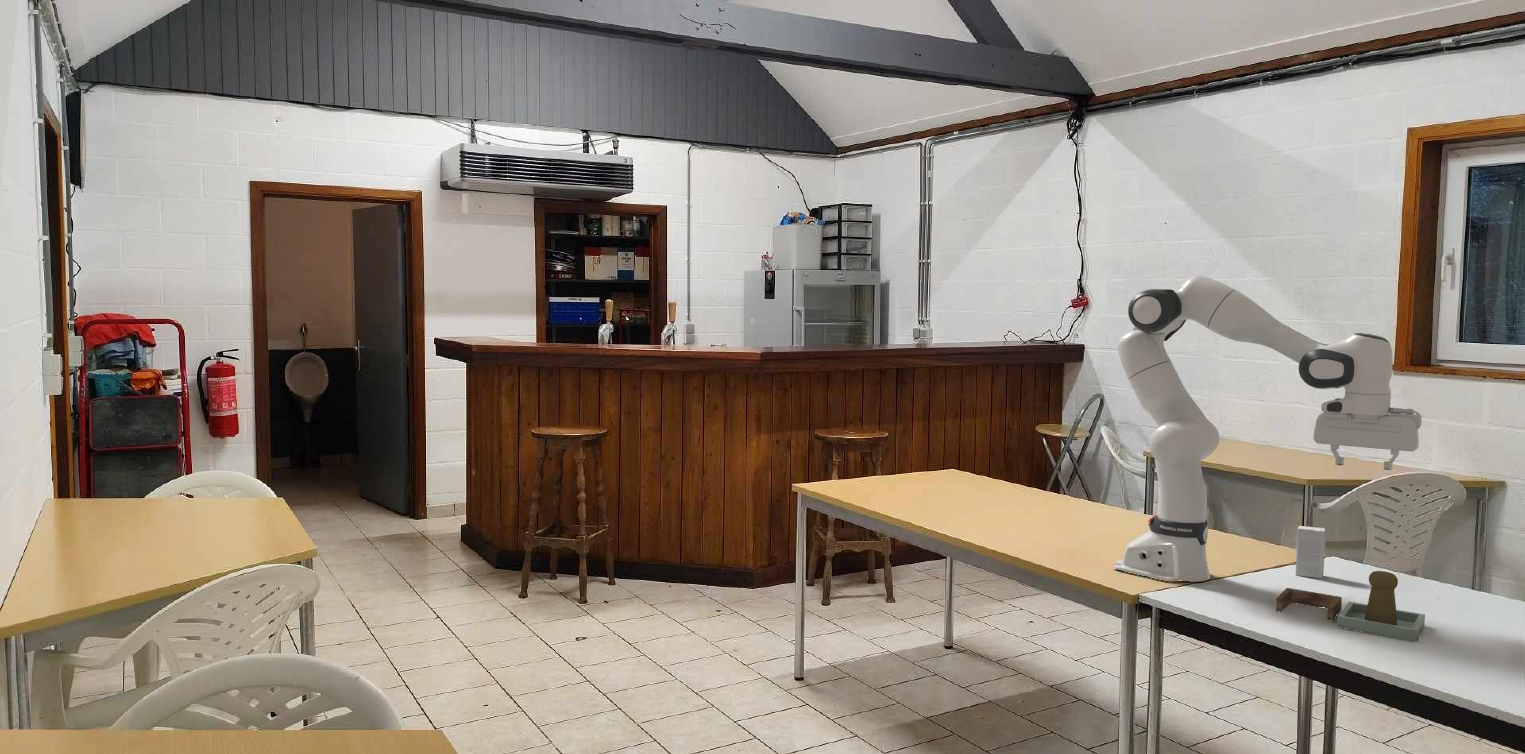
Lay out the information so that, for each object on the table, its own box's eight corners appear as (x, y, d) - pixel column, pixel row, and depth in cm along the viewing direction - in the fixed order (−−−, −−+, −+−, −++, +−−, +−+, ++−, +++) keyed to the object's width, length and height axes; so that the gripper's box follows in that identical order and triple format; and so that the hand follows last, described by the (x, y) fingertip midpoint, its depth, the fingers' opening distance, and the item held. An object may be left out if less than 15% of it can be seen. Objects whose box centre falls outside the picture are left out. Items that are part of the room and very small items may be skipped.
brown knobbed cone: (1370, 626, 209) (1373, 574, 208) (1359, 618, 215) (1362, 567, 214) (1402, 629, 208) (1405, 577, 207) (1391, 620, 214) (1394, 569, 213)
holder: (1275, 611, 221) (1276, 597, 221) (1286, 600, 230) (1287, 587, 229) (1332, 621, 215) (1333, 607, 214) (1341, 610, 223) (1341, 597, 222)
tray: (1337, 627, 210) (1337, 616, 210) (1348, 612, 221) (1349, 601, 221) (1416, 642, 202) (1417, 630, 202) (1424, 625, 213) (1425, 614, 212)
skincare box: (1323, 575, 252) (1326, 528, 251) (1322, 579, 249) (1325, 531, 248) (1296, 571, 255) (1298, 525, 255) (1294, 575, 252) (1297, 528, 251)
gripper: (1423, 408, 221) (1420, 471, 222) (1319, 402, 234) (1315, 461, 235) (1420, 410, 216) (1416, 474, 217) (1313, 403, 229) (1310, 464, 230)
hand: (1363, 467), depth 226 cm, fingers open, 8 cm apart
